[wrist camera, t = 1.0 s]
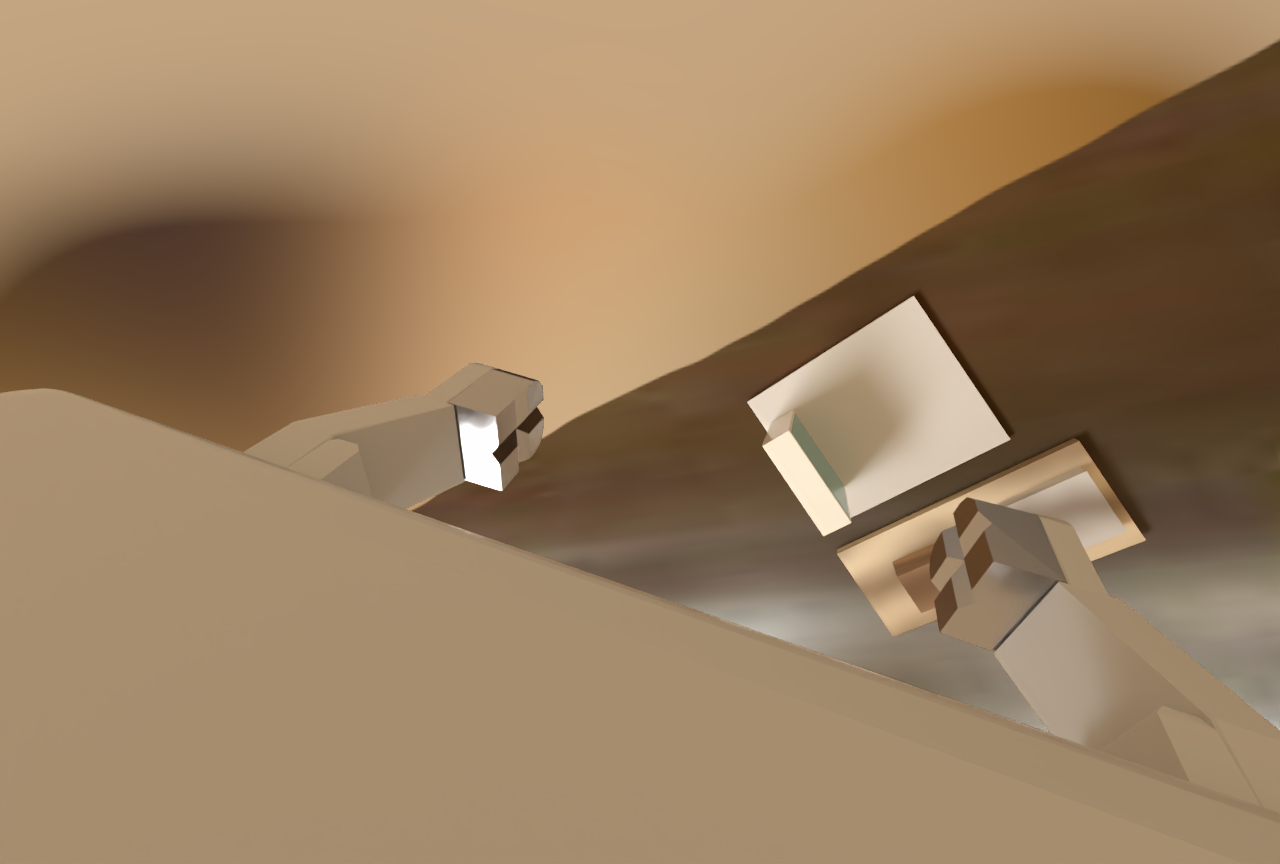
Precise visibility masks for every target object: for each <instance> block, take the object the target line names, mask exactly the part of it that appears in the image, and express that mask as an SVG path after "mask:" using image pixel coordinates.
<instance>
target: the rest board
mask: <svg viewBox="0 0 1280 864" xmlns="http://www.w3.org/2000/svg"><path fill="white" fill-rule="evenodd" d="M1078 467H1081V468H1082V469H1084V470H1086V471H1087V472H1088V474H1089V475H1090V477H1091V478H1092V480H1093V481H1094V483H1095V484H1096V486H1097V487H1098V489H1099V490H1100V492H1101V493H1102V495H1103V496H1104V498H1105V499H1106V501H1107V502H1108V504H1109V505H1110V507H1111V508H1112V510H1113V511H1114V513H1115V514H1116V516H1117V517H1118V519H1119V520H1120V522H1121V523H1122V525H1123V526H1124V528H1125V529H1126V531H1127V532H1125V533H1123V534H1120V535H1118V536H1115V537H1112V538H1110V539H1107V540H1105V541H1102V542H1100V543H1097V544H1095V545H1092V546H1089V547H1087V548H1084V549H1085V551H1086V553H1087V555H1088V557H1089V559H1090V561H1093V560H1096V559H1098V558H1101V557H1104V556H1106V555H1109V554H1112V553H1114V552H1117V551H1119V550H1122V549H1125V548H1127V547H1130V546H1133V545H1135V544H1138V543H1140V542H1143V541H1146V540H1145V538H1144V537H1143V535H1142V534H1141V532H1140V531H1139V529H1138V528H1137V526H1136V525H1135V523H1134V522H1133V520H1132V519H1131V517H1130V516H1129V514H1128V513H1127V511H1126V510H1125V508H1124V507H1123V505H1122V504H1121V502H1120V501H1119V499H1118V498H1117V496H1116V495H1115V493H1114V492H1113V490H1112V489H1111V487H1110V486H1109V484H1108V483H1107V481H1106V480H1105V478H1104V477H1103V476H1102V474H1101V473H1100V471H1099V470H1098V468H1097V467H1096V465H1095V464H1094V462H1093V461H1092V459H1091V458H1090V456H1089V455H1088V453H1087V452H1086V450H1085V449H1084V447H1083V446H1082V444H1081V443H1080V441H1078V440H1076V439H1074V438H1073V439H1071V440H1069V441H1066V442H1064V443H1062V444H1060V445H1058V446H1056V447H1054V448H1052V449H1049V450H1047V451H1045V452H1043V453H1041V454H1039V455H1037V456H1035V457H1032V458H1030V459H1028V460H1026V461H1024V462H1022V463H1020V464H1018V465H1015V466H1013V467H1011V468H1009V469H1007V470H1005V471H1003V472H1001V473H998V474H996V475H994V476H992V477H990V478H988V479H986V480H983V481H981V482H979V483H977V484H975V485H973V486H971V487H969V488H966V489H964V490H962V491H960V492H958V493H956V494H954V495H952V496H949V497H947V498H945V499H943V500H941V501H939V502H937V503H935V504H932V505H930V506H928V507H926V508H924V509H922V510H920V511H918V512H915V513H913V514H911V515H909V516H907V517H905V518H903V519H901V520H898V521H896V522H894V523H892V524H890V525H888V526H886V527H884V528H881V529H879V530H877V531H875V532H873V533H871V534H869V535H867V536H864V537H862V538H860V539H858V540H856V541H854V542H852V543H849V544H847V545H845V546H843V547H841V548H839V549H837V555H838V556H839V558H840V559H841V561H842V562H843V564H844V565H845V566H846V568H847V569H848V571H849V572H850V574H851V575H852V577H853V578H854V580H855V581H856V583H857V584H858V586H859V587H860V589H861V590H862V591H863V593H864V594H865V596H866V597H867V599H868V600H869V602H870V603H871V605H872V606H873V608H874V609H875V611H876V612H877V614H878V615H879V617H880V618H881V619H882V621H883V622H884V624H885V625H886V627H887V628H888V630H889V631H890V633H891V634H892V636H893V637H894V636H896V635H899V634H902V633H904V632H907V631H909V630H912V629H915V628H917V627H920V626H923V625H925V624H928V623H930V622H933V621H936V620H937V614H936V609H935V608H933V609H931V610H928V611H926V612H923V613H921V612H920V610H919V609H918V607H917V606H916V604H915V603H914V601H913V600H912V598H911V597H910V596H909V594H908V593H907V591H906V590H905V588H904V587H903V585H902V584H901V582H900V581H899V579H898V578H897V575H896V572H895V569H894V566H893V563H892V562H893V561H896V560H898V559H900V558H902V557H905V556H907V555H909V554H911V553H914V552H916V551H918V550H921V549H923V548H925V547H927V546H930V545H932V544H934V543H935V542H936V540H937V539H938V537H939V535H940V533H941V532H942V531H943V530H946V529H948V528H951V527H953V526H955V525H956V524H955V519H954V515H953V513H954V511H955V510H956V508H957V507H958V505H959V504H960V503H961V502H962V501H963V500H964V499H965V498H966V497H969V498H973V499H977V500H981V501H985V502H989V503H993V504H998V503H1000V502H1002V501H1004V500H1007V499H1009V498H1011V497H1013V496H1016V495H1018V494H1020V493H1022V492H1024V491H1027V490H1029V489H1031V488H1033V487H1036V486H1038V485H1040V484H1042V483H1044V482H1047V481H1049V480H1051V479H1053V478H1056V477H1058V476H1060V475H1062V474H1065V473H1067V472H1069V471H1071V470H1073V469H1076V468H1078Z"/></svg>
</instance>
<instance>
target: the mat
mask: <svg viewBox="0 0 1280 864" xmlns="http://www.w3.org/2000/svg"><path fill="white" fill-rule="evenodd" d="M747 403H748V404H749V406H750V407H751V409H752V410H753V412H754V413H755V415H756V416H757V417H758V419H759V420H760V422H761V423H762V425H763V426H764V428H765V429H766V431H767V432H768V429H769V426H770V424H771V423H772V422H774V421H775V420H777V419H778V418H780V417H782V416H783V415H785V414H787V413H788V412H790V411H792V410H794V412H795V413H796V415H797V416H798V418H799V419H800V421H801V422H802V423H803V425H804V426H805V428H806V429H807V431H808V432H809V434H810V435H811V437H812V438H813V440H814V441H815V443H816V444H817V446H818V447H819V449H820V450H821V452H822V453H823V454H824V456H825V457H826V459H827V460H828V462H829V463H830V465H831V466H832V468H833V469H834V471H835V472H836V474H837V475H838V477H839V478H840V480H841V481H842V483H843V484H844V486H845V489H846V494H847V500H848V506H849V511H850V517H851V518H852V517H854V516H856V515H858V514H860V513H862V512H864V511H866V510H868V509H870V508H872V507H874V506H876V505H878V504H880V503H882V502H884V501H886V500H888V499H890V498H892V497H894V496H896V495H898V494H901V493H903V492H905V491H907V490H909V489H911V488H913V487H915V486H917V485H919V484H921V483H923V482H925V481H927V480H929V479H931V478H933V477H935V476H937V475H939V474H941V473H943V472H945V471H947V470H949V469H952V468H954V467H956V466H958V465H960V464H962V463H964V462H966V461H968V460H970V459H972V458H974V457H976V456H978V455H980V454H982V453H984V452H986V451H988V450H990V449H992V448H994V447H996V446H998V445H1000V444H1002V443H1005V442H1007V441H1009V440H1010V438H1009V437H1008V435H1007V434H1006V432H1005V431H1004V429H1003V428H1002V426H1001V425H1000V423H999V422H998V420H997V419H996V417H995V416H994V414H993V413H992V411H991V410H990V408H989V407H988V405H987V404H986V402H985V401H984V399H983V398H982V396H981V395H980V393H979V392H978V390H977V389H976V387H975V386H974V385H973V383H972V382H971V380H970V379H969V377H968V376H967V374H966V373H965V371H964V370H963V368H962V367H961V365H960V364H959V362H958V361H957V359H956V358H955V356H954V355H953V353H952V352H951V350H950V349H949V347H948V346H947V344H946V343H945V341H944V340H943V338H942V337H941V335H940V334H939V332H938V331H937V329H936V328H935V327H934V325H933V324H932V322H931V321H930V319H929V318H928V316H927V315H926V313H925V312H924V310H923V309H922V307H921V306H920V304H919V303H918V301H917V300H916V298H915V297H914V296H912V297H910V298H909V299H907V300H905V301H904V302H902V303H901V304H899V305H898V306H896V307H894V308H893V309H891V310H890V311H888V312H887V313H885V314H884V315H882V316H880V317H879V318H877V319H876V320H874V321H873V322H871V323H869V324H868V325H866V326H865V327H863V328H862V329H860V330H858V331H857V332H855V333H854V334H852V335H851V336H849V337H848V338H846V339H844V340H843V341H841V342H840V343H838V344H837V345H835V346H833V347H832V348H830V349H829V350H827V351H826V352H824V353H822V354H821V355H819V356H818V357H816V358H815V359H813V360H811V361H810V362H808V363H807V364H805V365H804V366H802V367H801V368H799V369H797V370H796V371H794V372H793V373H791V374H790V375H788V376H786V377H785V378H783V379H782V380H780V381H779V382H777V383H775V384H774V385H772V386H771V387H769V388H768V389H766V390H764V391H763V392H761V393H760V394H758V395H757V396H755V397H754V398H752V399H750V400H749V401H748V402H747Z"/></svg>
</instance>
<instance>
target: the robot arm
mask: <svg viewBox="0 0 1280 864" xmlns="http://www.w3.org/2000/svg"><path fill="white" fill-rule="evenodd" d="M542 401H543V386H542V384H541V383H540V382H539V381H538V380H535V379H531V378H528V377H525V376H521V375H518V374H514V373H511V372H508V371H504V370H501V369H496V368H494V367H490V366H486V365H483V364H479V363H470V364H468V365H467V366H466V367H464V368H463V369H461V370H460V371H459V372H457V373H456V374H455V375H453V376H452V377H450V378H449V379H448V380H446V381H445V382H443V383H442V384H441V385H439V386H438V387H437V388H435V389H434V390H432V391H431V392H430V393H428V394H427V395H426V396H421V395H413V396H409V397H404V398H400V399H395V400H391V401H386V402H382V403H377V404H373V405H368V406H364V407H359V408H355V409H350V410H345V411H341V412H336V413H332V414H328V415H323V416H318V417H313V418H309V419H304V420H300V421H296V422H293V423H291V424H289V425H288V426H286V427H284V428H283V429H281V430H279V431H278V432H276V433H274V434H273V435H271V436H269V437H268V438H266V439H264V440H263V441H261V442H260V443H258V444H256V445H254V446H253V447H251V448H249V449H248V450H246V451H244V452H240V451H237V450H234V449H231V448H228V447H225V446H223V445H220V444H217V443H214V442H211V441H208V440H205V439H202V438H200V437H197V436H194V435H191V434H188V433H185V432H182V431H179V430H176V429H174V428H171V427H168V426H165V425H162V424H159V423H156V422H154V421H151V420H148V419H145V418H142V417H139V416H136V415H133V414H130V413H127V412H125V411H122V410H119V409H116V408H113V407H110V406H107V405H105V404H102V403H99V402H96V401H93V400H91V399H88V398H85V397H82V396H79V395H76V394H73V393H70V392H66V391H61V390H57V389H32V390H21V391H12V392H4V393H0V864H1280V731H1279V730H1278V729H1277V728H1276V727H1274V726H1273V725H1272V724H1271V723H1270V722H1268V721H1267V720H1266V719H1265V718H1263V717H1262V716H1261V715H1260V714H1259V713H1257V712H1256V711H1255V710H1254V709H1253V708H1251V707H1250V706H1249V705H1248V704H1246V703H1245V702H1244V701H1243V700H1242V699H1240V698H1239V697H1238V696H1237V695H1236V694H1234V693H1233V692H1232V691H1231V690H1229V689H1228V688H1227V687H1226V686H1225V685H1223V684H1222V683H1221V682H1220V681H1219V680H1217V679H1216V678H1215V677H1214V676H1212V675H1211V674H1210V673H1209V672H1208V671H1206V670H1205V669H1204V668H1203V667H1202V666H1200V665H1199V664H1198V663H1197V662H1195V661H1194V660H1193V659H1192V658H1191V657H1189V656H1188V655H1187V654H1186V653H1185V652H1183V651H1182V650H1181V649H1180V648H1179V647H1177V646H1176V645H1175V644H1174V643H1172V642H1171V641H1170V640H1169V639H1168V638H1166V637H1165V636H1164V635H1163V634H1162V633H1160V632H1159V631H1158V630H1157V629H1155V628H1154V627H1153V626H1152V625H1151V624H1149V623H1148V622H1147V621H1146V620H1145V619H1143V618H1142V617H1141V616H1140V615H1138V614H1137V613H1136V612H1135V611H1134V610H1132V609H1131V608H1130V607H1129V606H1128V605H1126V604H1125V603H1124V602H1123V601H1121V600H1120V599H1117V598H1114V597H1110V596H1108V594H1107V592H1106V590H1105V588H1104V586H1103V584H1102V582H1101V580H1100V578H1099V576H1098V574H1097V572H1096V570H1095V568H1094V566H1093V565H1092V563H1091V561H1090V559H1089V557H1088V555H1087V553H1086V551H1085V549H1084V547H1083V545H1082V543H1081V541H1080V539H1079V537H1078V535H1077V533H1076V531H1075V529H1074V527H1073V526H1072V525H1070V524H1069V523H1068V522H1066V521H1064V520H1060V519H1055V518H1051V517H1047V516H1043V515H1039V514H1035V513H1028V512H1024V511H1020V510H1017V509H1013V508H1009V507H1005V506H1001V505H997V504H993V503H989V502H985V501H981V500H977V499H973V498H969V497H966V498H965V499H964V500H963V501H962V502H961V503H960V504H959V505H958V507H957V508H956V510H955V511H954V513H953V515H954V519H955V524H956V525H955V526H953V527H951V528H948V529H946V530H943V531H942V532H941V533H940V535H939V537H938V539H937V540H936V542H935V544H934V546H933V550H932V553H931V557H930V567H929V571H930V578H931V582H932V583H933V584H934V585H935V586H936V588H937V589H938V590H939V591H940V593H939V595H938V596H937V598H936V599H935V601H934V603H935V609H936V614H937V620H938V626H939V632H940V633H942V634H945V635H948V636H951V637H953V638H956V639H959V640H962V641H965V642H968V643H971V644H973V645H976V646H979V647H982V648H985V649H988V650H991V651H993V652H994V656H995V657H996V658H997V660H998V661H999V662H1000V664H1001V665H1002V667H1003V668H1004V669H1005V671H1006V672H1007V674H1008V675H1009V676H1010V678H1011V679H1012V681H1013V682H1014V683H1015V685H1016V686H1017V687H1018V689H1019V690H1020V692H1021V693H1022V694H1023V696H1024V697H1025V699H1026V700H1027V701H1028V703H1029V704H1030V706H1031V707H1032V708H1033V710H1034V711H1035V713H1036V714H1037V715H1038V717H1039V718H1040V719H1041V721H1042V722H1043V724H1044V725H1045V726H1046V728H1047V729H1048V731H1049V732H1050V733H1048V732H1045V731H1042V730H1039V729H1036V728H1033V727H1031V726H1028V725H1025V724H1022V723H1019V722H1016V721H1013V720H1010V719H1008V718H1005V717H1002V716H999V715H996V714H993V713H990V712H987V711H985V710H982V709H979V708H976V707H973V706H970V705H967V704H964V703H962V702H959V701H956V700H953V699H950V698H947V697H944V696H941V695H939V694H936V693H933V692H930V691H927V690H924V689H921V688H918V687H916V686H913V685H910V684H907V683H904V682H901V681H898V680H895V679H893V678H890V677H887V676H884V675H881V674H878V673H875V672H872V671H870V670H867V669H864V668H861V667H858V666H855V665H852V664H849V663H846V662H844V661H841V660H838V659H835V658H832V657H829V656H826V655H823V654H821V653H818V652H815V651H812V650H809V649H806V648H803V647H800V646H798V645H795V644H792V643H789V642H786V641H783V640H780V639H777V638H775V637H772V636H769V635H766V634H763V633H760V632H757V631H755V630H752V629H749V628H746V627H743V626H740V625H737V624H734V623H732V622H729V621H726V620H723V619H720V618H717V617H714V616H712V615H709V614H706V613H703V612H700V611H697V610H694V609H691V608H689V607H686V606H683V605H680V604H677V603H674V602H671V601H669V600H666V599H663V598H660V597H657V596H654V595H651V594H648V593H646V592H643V591H640V590H637V589H634V588H631V587H628V586H626V585H623V584H620V583H617V582H614V581H611V580H608V579H605V578H603V577H600V576H597V575H594V574H591V573H588V572H585V571H582V570H579V569H576V568H574V567H571V566H568V565H565V564H562V563H559V562H556V561H553V560H550V559H548V558H545V557H542V556H539V555H536V554H533V553H530V552H527V551H524V550H521V549H519V548H516V547H513V546H510V545H507V544H504V543H501V542H498V541H495V540H493V539H490V538H487V537H484V536H481V535H478V534H475V533H472V532H469V531H466V530H464V529H461V528H458V527H455V526H452V525H449V524H446V523H443V522H441V521H438V520H435V519H432V518H429V517H426V516H424V515H421V514H418V513H415V512H412V511H409V510H407V508H409V507H411V506H413V505H415V504H417V503H420V502H422V501H424V500H426V499H428V498H430V497H433V496H435V495H437V494H439V493H441V492H443V491H445V490H448V489H450V488H452V487H454V486H456V485H458V484H461V483H463V482H464V480H467V481H470V482H474V483H477V484H480V485H484V486H487V487H491V488H494V489H497V490H501V491H502V490H503V489H504V488H505V486H506V485H507V484H508V483H509V482H510V481H511V480H512V478H513V477H514V476H515V475H516V474H517V473H518V471H519V465H518V462H521V461H524V460H527V459H529V458H530V457H531V456H532V455H533V454H534V452H535V451H536V450H537V448H538V445H539V443H540V441H541V439H542V434H543V428H544V417H543V416H542V414H541V413H540V411H539V409H538V408H537V406H538V405H539V404H540V403H541V402H542Z"/></svg>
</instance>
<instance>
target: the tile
mask: <svg viewBox="0 0 1280 864" xmlns="http://www.w3.org/2000/svg"><path fill="white" fill-rule="evenodd" d="M763 448H764V449H765V451H766V452H767V454H768V455H769V457H770V458H771V460H772V461H773V463H774V464H775V466H776V467H777V469H778V470H779V472H780V473H781V474H782V476H783V477H784V479H785V480H786V482H787V483H788V485H789V486H790V488H791V489H792V491H793V492H794V494H795V495H796V497H797V498H798V499H799V501H800V502H801V504H802V505H803V507H804V508H805V510H806V511H807V513H808V514H809V516H810V517H811V519H812V520H813V522H814V523H815V525H816V526H817V527H818V529H819V530H820V532H821V533H822V535H823V536H825V535H827V534H829V533H831V532H833V531H836V530H838V529H840V528H842V527H844V526H846V525H848V524H850V523H852V522H851V517H850V511H849V506H848V500H847V494H846V489H845V486H844V484H843V483H842V481H841V480H840V478H839V477H838V475H837V474H836V472H835V471H834V469H833V468H832V466H831V465H830V463H829V462H828V460H827V459H826V457H825V456H824V454H823V453H822V452H821V450H820V449H819V447H818V446H817V444H816V443H815V441H814V440H813V438H812V437H811V435H810V434H809V432H808V431H807V429H806V428H805V426H804V425H803V423H802V422H801V421H800V419H799V418H798V416H797V415H796V413H795V412H794V410H792V411H790V412H788V413H787V414H785V415H783V416H782V417H780V418H778V419H777V420H775V421H774V422H772V423H771V424H770V426H769V429H768V432H767V435H766V437H765V440H764V443H763Z"/></svg>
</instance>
